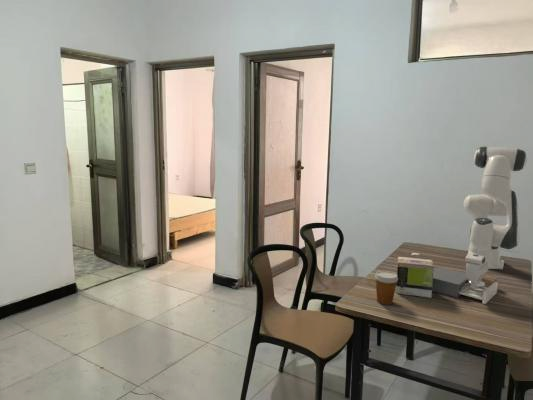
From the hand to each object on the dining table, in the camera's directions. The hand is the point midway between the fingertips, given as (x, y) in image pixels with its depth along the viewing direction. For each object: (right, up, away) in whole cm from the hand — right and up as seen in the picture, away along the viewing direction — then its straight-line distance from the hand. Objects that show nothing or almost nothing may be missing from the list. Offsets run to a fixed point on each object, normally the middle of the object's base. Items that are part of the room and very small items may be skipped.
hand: (476, 285), depth 178 cm
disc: (0, 0, 0) cm, 0 cm away
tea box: (-27, -4, +3) cm, 27 cm away
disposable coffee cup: (-43, -5, -8) cm, 44 cm away
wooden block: (+10, -3, +9) cm, 14 cm away
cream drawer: (-1, -4, +1) cm, 4 cm away
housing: (-9, -3, +9) cm, 13 cm away
